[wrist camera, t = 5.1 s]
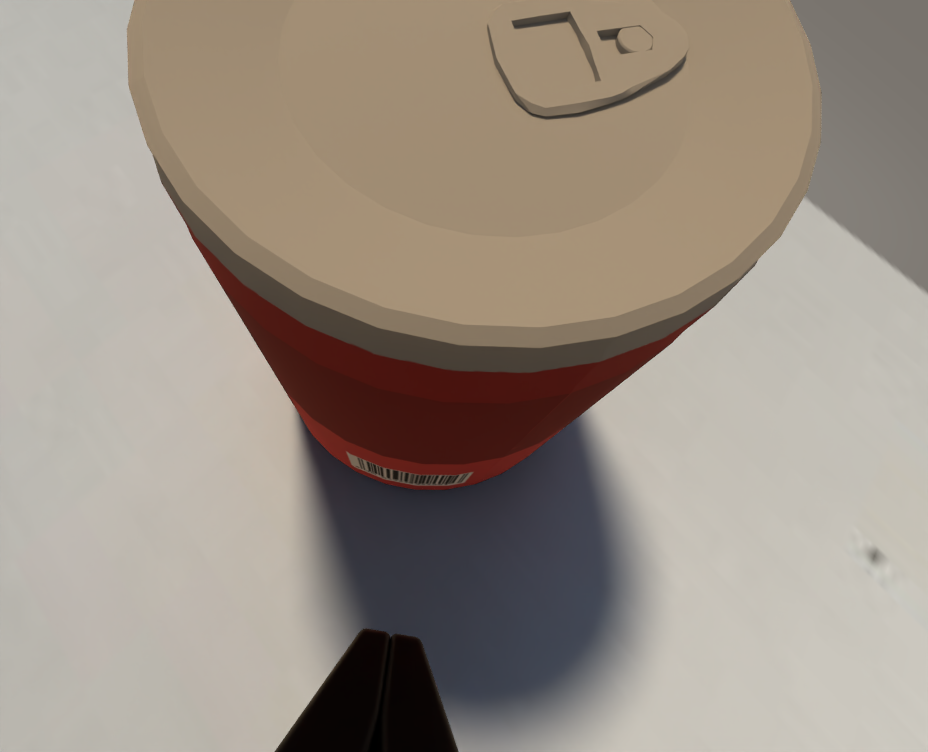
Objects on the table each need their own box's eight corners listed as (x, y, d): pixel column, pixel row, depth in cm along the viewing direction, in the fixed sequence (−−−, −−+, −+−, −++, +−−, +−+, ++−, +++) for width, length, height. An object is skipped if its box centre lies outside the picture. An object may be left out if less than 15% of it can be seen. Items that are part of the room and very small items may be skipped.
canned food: (615, 404, 17) (961, 151, 7) (377, 555, 15) (350, 526, 5) (476, 206, 19) (584, -246, 8) (242, 317, 17) (-3, -102, 6)
